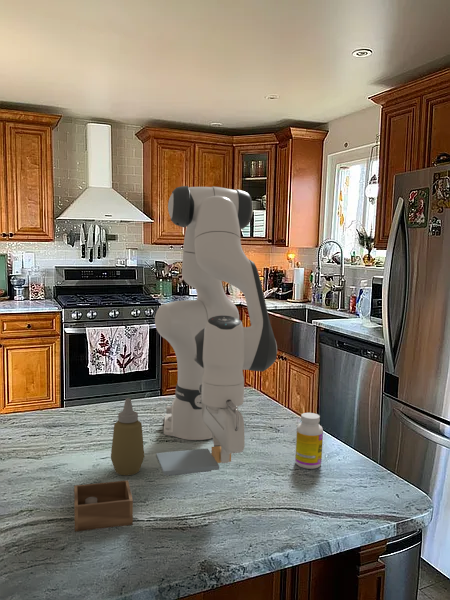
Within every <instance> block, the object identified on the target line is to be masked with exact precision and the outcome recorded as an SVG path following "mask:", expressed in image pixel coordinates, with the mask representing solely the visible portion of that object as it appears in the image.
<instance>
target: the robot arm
mask: <svg viewBox="0 0 450 600" xmlns="http://www.w3.org/2000/svg"><path fill="white" fill-rule="evenodd" d="M167 202H168V203H167V211H168V215H169V217H170V221H171V223H173V225H176V226H178V227H181V228H186V229H185V232H184V239H183V248H182V264H181V265H182V266H181V276H182V279H183V281H184V282H185V283H186V284H187V285H188V286H190V287H191V288H193V289H195V290H196V296H197V298H196V299H190V300H188V299H186V300H175V301H174V300H173V301H170V302H168V303H164V304H162V305H160V306H159V307H158V309H157V310H156V312H155V316H154V325H155V329H156V331H157V332H158V334H159V335H160V336H161V338H163V339H164V340H166V341H167V342H168V344H169V345H170V346H171V347H172V349H173V351H174V353H175V354H174V355H175V357H176V362H177V363H176V365H177V383H176V385H175V390H174V391H175V394H174V395H175V397H174V398H173V400H172V401H171V405H167V406H166V409H165V410H166V411H165V412H166V414H165V415H164V422H163V435H166V436H170V437H171V436H172V437H176V438H179V439H183V440H188V441H203V440H209V439H212V443H213V447H216V446H221V452H220V455H219V456H220V457H219V459H220V461H221V462H222V463H221V464H227V463H230V462H229V459H230V453H231V454H239V453H240V454H241V453H243V452H244V450H245V445H246V444H245V436H246V435H245V420H244V416H243V414H242V412H241V411H240V410H239V408H238V407H239V406H242V405H243V404H244V401H245V399H244V398H245V395H244V394H245V377H244V373H243V370H244V371H245V370H246V371H247V370H248V371H253V372H265V371H266V370H268V369H269V368H270V367H271V366H273V364H275V362H276V361H277V357H278V355H277V354H278V345H277V341H276V338H275V335H274V331H273V327H272V324H271V321H270V317H269V312H268V308H267V302H266V299H265V294H264V289H263V286H262V281H261V278H260V275H259V270H258V268H257V265H256V264H255V262H254V261H252V260H251V259H249V257H247V255H246V254H245V252H244V250H243V248H242V242H241V241H242V239H241V230H243V229H245V228H246V227H247V226H248V225H249V224H250V222H251V220H252V217H253V214H254V213H253V212H254V207H253V200H252V197H251V195H250V194H249V193H248V192H246V191H244V190H241V189H238V188H236V189H232V188H226V187H221V186H214V185H213V186H188V185H183V186H177V187H175V188H174V189H173V190H172V191H171V194H170V196H169V199H168V201H167ZM223 282H225V283H227V284H229V285H232V286H233V287H235V288H237V289H238V290H239V291H241V293H242V294H243V296H244V298H245V302H246V307H247V312H248V316H249V322H250V326H244V325H243V322H242V320H240V314H239V313H240V312H239V309H238V308H237V306H236V304H235V303H234V301H233V302H232V300H230V299H229V297H228V296H227V294H226V291H225V290H224V286H223Z"/></svg>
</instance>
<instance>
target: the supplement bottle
mask: <svg viewBox="0 0 450 600" xmlns="http://www.w3.org/2000/svg"><path fill="white" fill-rule="evenodd" d="M300 416H301V417H300V420H301V422H300V423H299V424H297V426H296V435H295V437H296V438H295V454H294V455H295V456H294V458H295V459H294V461H295V464H296V465H297V466H298V467H300V468H304V469H308V470H310V469H311V470H313V469H317V468H320V467H321V465H322V459H323V455H322V454H323V438H324V437H323V436H324V435H323V434H324V429H323V426H322V425H320V421H321V419H320V418H321V415H320V414H318V413H313V412H303V413H301V414H300Z"/></svg>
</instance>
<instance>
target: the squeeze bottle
mask: <svg viewBox="0 0 450 600" xmlns="http://www.w3.org/2000/svg"><path fill="white" fill-rule="evenodd" d="M117 416H118V417H117V421H116V422H115V423H114V424H113V432H112V443H111V451H110V460H111V463H112V466H113V469H114V472H115V473H116V474H117V475H120V476H132V475H136V474H137V473H139V472H140V470H141V467H142V466H143V463H144V459H145V448H144V447H145V446H144V435H143V434H144V433H143V426H142V422H141V421H139V414H138V412H137V411H135V410H134V408H133V403H132V398H130V397H126V398H125V400H124V405H123V408H122V410H121V411H120V412H118V415H117Z"/></svg>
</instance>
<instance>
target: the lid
mask: <svg viewBox="0 0 450 600" xmlns="http://www.w3.org/2000/svg"><path fill="white" fill-rule="evenodd" d="M220 452H221V446H216V447H214V446H211V451H210V449H209V448H198V449H197V448H196V449H188V450H187V449H186V450H175V451H166V452H156V453H155V454H156V455H155V457H156V460H157V463H158V465H159V468H160V470H161V471H162V475H163V476H170V477H171V476H179V475H189V474H199V473H210V472H212V471H219V470H220V464H223V463H222V462H221V461H220V459H219V457H220V456H219V455H220ZM230 462H232V453H230V459H229V462H228V463H230Z"/></svg>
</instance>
